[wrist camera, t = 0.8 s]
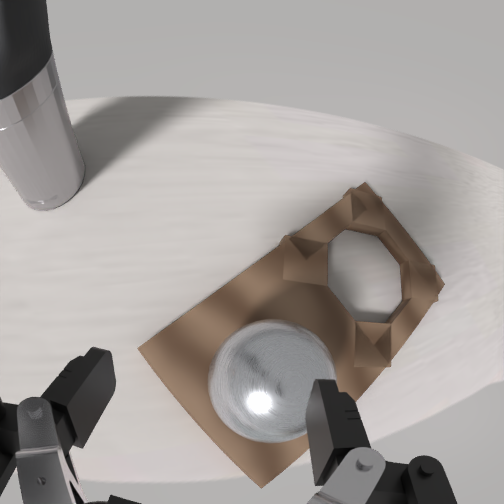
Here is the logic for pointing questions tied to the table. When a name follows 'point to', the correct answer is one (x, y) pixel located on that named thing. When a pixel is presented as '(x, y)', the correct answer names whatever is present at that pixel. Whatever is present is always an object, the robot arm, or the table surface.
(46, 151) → the robot arm
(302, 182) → the table surface
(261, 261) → the wooden board
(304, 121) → the table surface
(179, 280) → the table surface
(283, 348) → the steel ball
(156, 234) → the table surface
